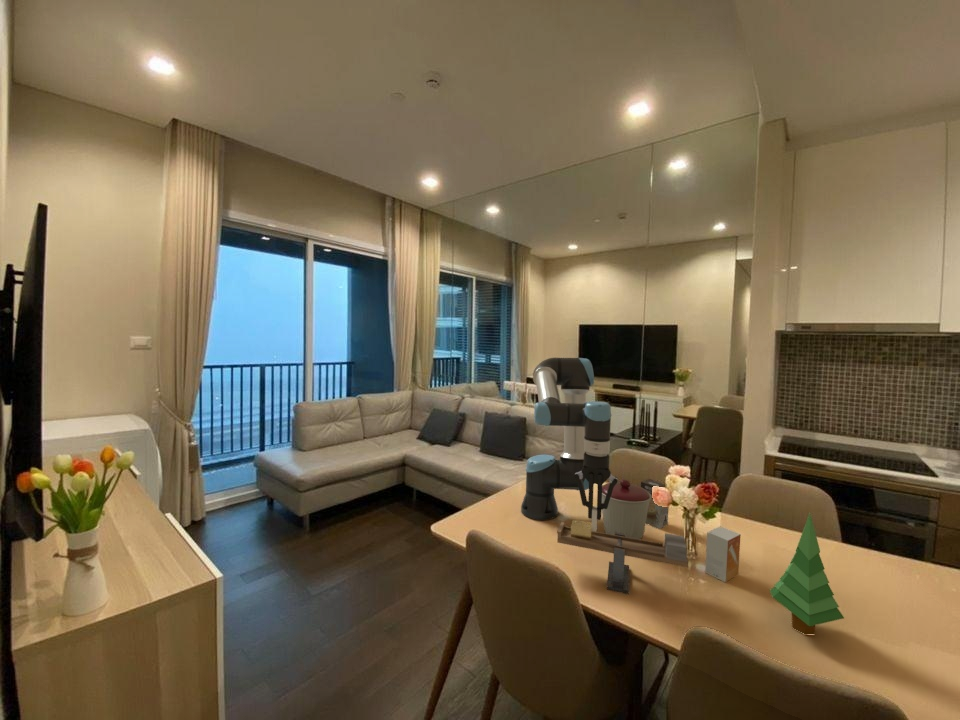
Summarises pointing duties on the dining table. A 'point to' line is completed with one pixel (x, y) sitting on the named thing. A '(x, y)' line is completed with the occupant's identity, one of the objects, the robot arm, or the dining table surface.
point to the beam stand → (618, 571)
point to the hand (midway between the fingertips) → (594, 529)
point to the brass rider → (581, 530)
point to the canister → (626, 509)
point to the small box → (722, 553)
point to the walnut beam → (631, 546)
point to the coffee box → (655, 507)
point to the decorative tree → (807, 586)
